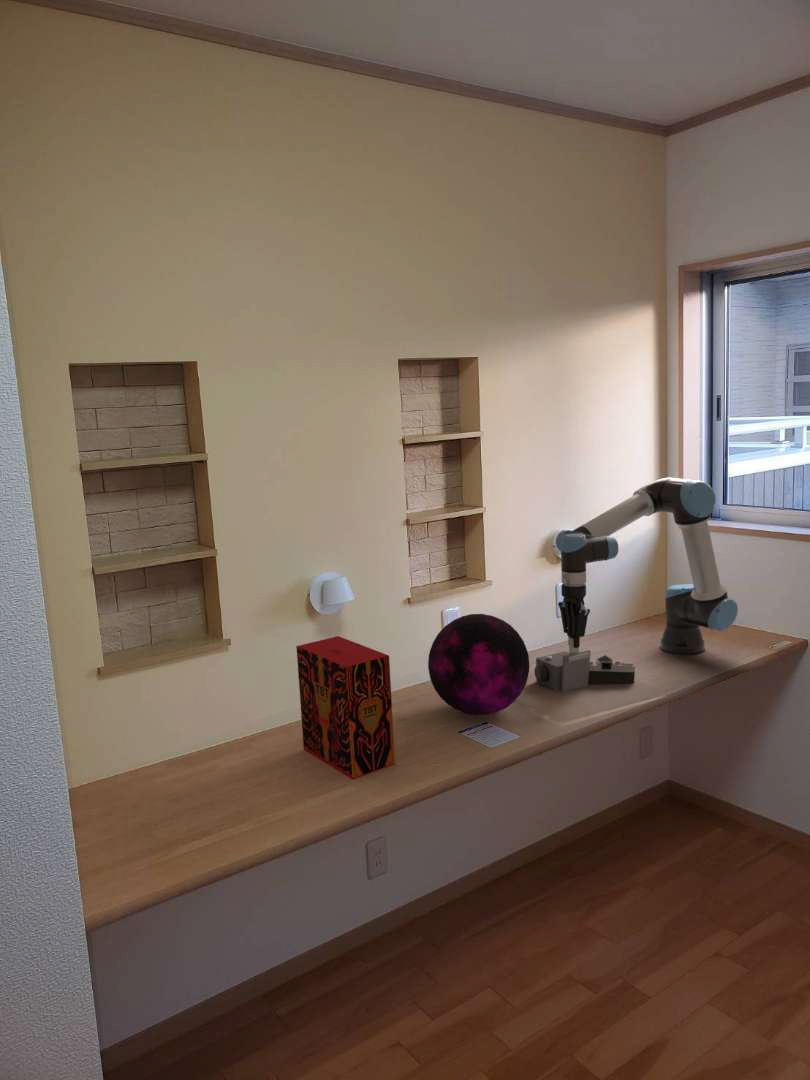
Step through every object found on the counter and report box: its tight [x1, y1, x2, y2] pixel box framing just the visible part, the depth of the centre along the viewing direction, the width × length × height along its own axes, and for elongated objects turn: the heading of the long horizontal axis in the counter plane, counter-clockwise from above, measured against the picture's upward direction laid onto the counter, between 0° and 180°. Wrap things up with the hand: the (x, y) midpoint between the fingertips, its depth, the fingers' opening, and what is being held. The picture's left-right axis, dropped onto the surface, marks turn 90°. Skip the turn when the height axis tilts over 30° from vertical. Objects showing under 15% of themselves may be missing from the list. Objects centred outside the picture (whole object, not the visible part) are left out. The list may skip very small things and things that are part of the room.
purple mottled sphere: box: [427, 613, 530, 716], centre depth 264 cm, size 30×30×30 cm
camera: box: [588, 654, 636, 685], centre depth 285 cm, size 16×9×10 cm, turn 83°
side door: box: [560, 649, 591, 693], centre depth 278 cm, size 10×2×13 cm, turn 118°
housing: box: [534, 651, 569, 692], centre depth 284 cm, size 14×11×10 cm
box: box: [295, 635, 396, 780], centre depth 236 cm, size 25×13×30 cm, turn 36°
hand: (574, 656), depth 278 cm, fingers closed
